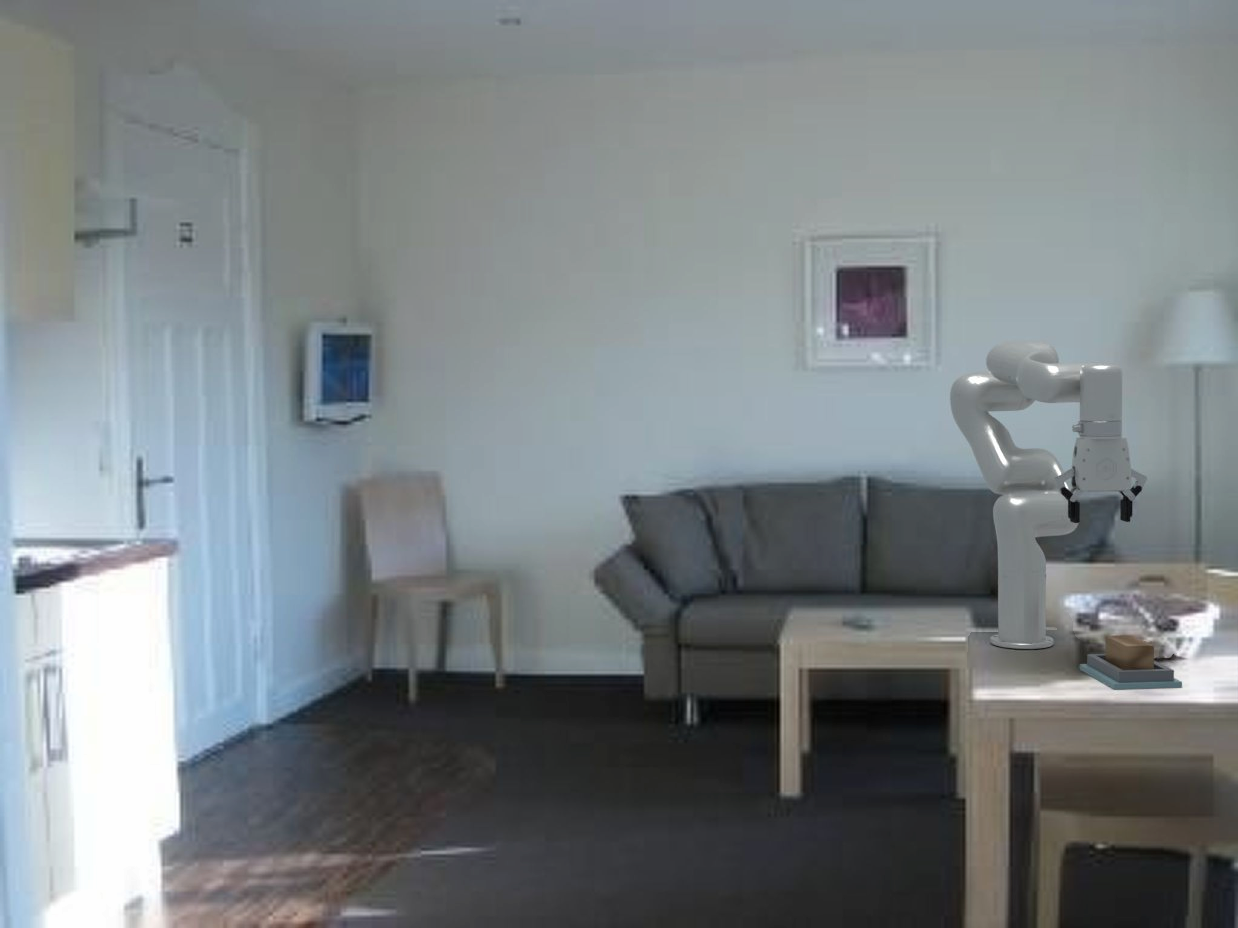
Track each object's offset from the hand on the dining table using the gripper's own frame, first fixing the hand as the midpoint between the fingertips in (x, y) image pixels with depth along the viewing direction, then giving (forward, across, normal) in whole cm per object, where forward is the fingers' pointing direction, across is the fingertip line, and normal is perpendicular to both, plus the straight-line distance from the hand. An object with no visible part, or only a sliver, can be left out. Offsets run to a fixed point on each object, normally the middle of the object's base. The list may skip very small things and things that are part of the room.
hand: (1100, 521), depth 280 cm
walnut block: (+27, +3, -7) cm, 28 cm away
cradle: (+28, +3, -7) cm, 29 cm away
